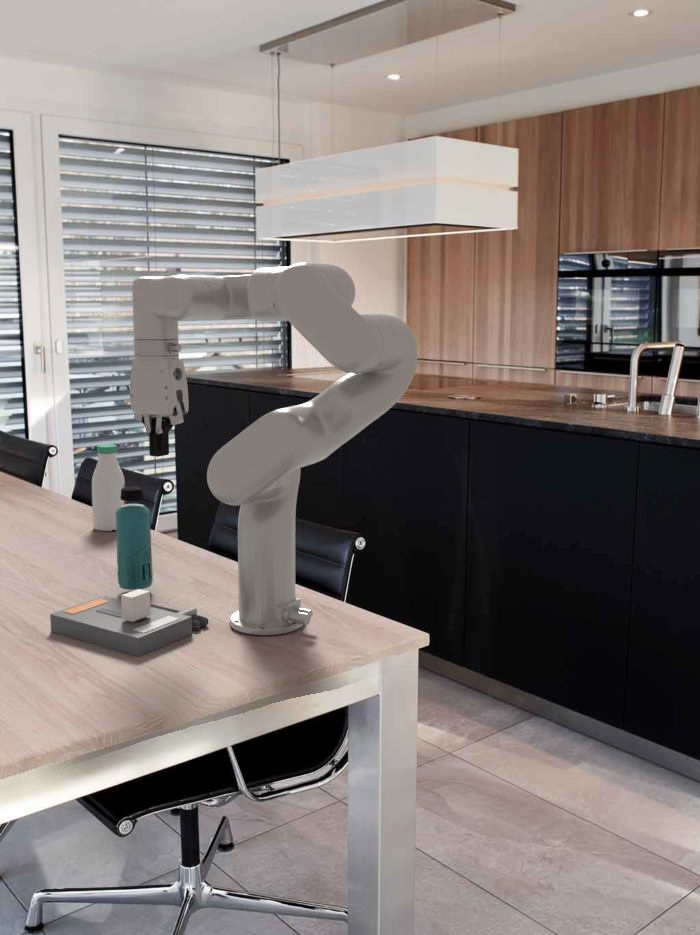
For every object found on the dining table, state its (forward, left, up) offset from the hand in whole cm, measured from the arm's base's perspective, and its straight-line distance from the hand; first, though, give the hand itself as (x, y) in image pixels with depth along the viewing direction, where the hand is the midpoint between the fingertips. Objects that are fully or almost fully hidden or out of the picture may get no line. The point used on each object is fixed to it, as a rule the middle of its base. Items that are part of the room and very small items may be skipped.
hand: (159, 455), depth 166 cm
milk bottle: (+51, -35, -27) cm, 68 cm away
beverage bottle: (+9, -2, -27) cm, 29 cm away
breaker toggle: (-9, +15, -24) cm, 29 cm away
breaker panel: (-5, +15, -27) cm, 31 cm away
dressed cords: (-5, +6, -27) cm, 28 cm away
